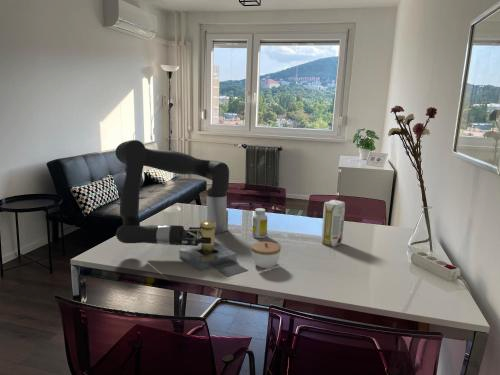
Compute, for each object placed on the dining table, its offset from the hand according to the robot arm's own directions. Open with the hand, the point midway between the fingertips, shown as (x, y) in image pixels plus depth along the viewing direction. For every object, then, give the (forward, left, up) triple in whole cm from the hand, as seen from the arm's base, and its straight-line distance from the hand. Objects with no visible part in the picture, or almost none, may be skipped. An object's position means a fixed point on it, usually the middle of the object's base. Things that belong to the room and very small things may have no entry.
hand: (212, 236), depth 144 cm
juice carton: (-54, +14, -10) cm, 56 cm away
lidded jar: (-14, +16, -10) cm, 23 cm away
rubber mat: (-1, +12, -10) cm, 15 cm away
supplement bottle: (-33, -11, -10) cm, 36 cm away
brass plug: (+1, -1, -9) cm, 9 cm away
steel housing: (+1, -1, -10) cm, 10 cm away
